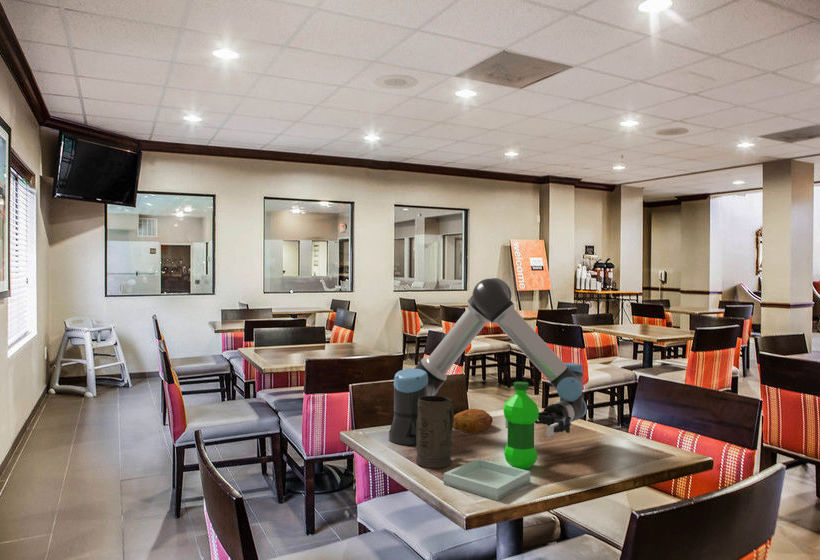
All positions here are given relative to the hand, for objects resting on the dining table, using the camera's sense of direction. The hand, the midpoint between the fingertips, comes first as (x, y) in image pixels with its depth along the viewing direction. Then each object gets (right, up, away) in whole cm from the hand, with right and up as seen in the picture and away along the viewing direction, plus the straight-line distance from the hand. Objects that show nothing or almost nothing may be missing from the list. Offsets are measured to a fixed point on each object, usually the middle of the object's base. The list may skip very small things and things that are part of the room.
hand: (526, 427), depth 172 cm
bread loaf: (-12, -11, +42) cm, 46 cm away
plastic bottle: (-2, -12, -1) cm, 12 cm away
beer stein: (-27, -11, +4) cm, 29 cm away
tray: (-14, -11, -15) cm, 23 cm away
